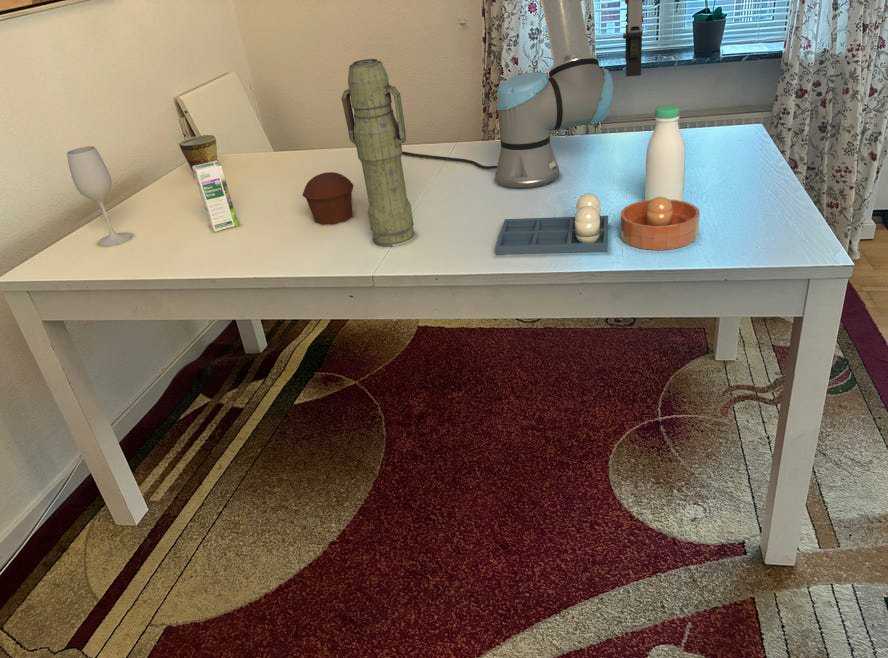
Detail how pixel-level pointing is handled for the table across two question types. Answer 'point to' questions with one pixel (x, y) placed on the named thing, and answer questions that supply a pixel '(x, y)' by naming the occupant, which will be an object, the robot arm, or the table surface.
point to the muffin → (329, 198)
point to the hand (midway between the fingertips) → (632, 67)
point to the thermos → (379, 149)
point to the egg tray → (547, 237)
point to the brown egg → (659, 212)
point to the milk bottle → (665, 156)
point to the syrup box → (215, 195)
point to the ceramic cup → (199, 149)
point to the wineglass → (93, 184)
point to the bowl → (659, 227)
